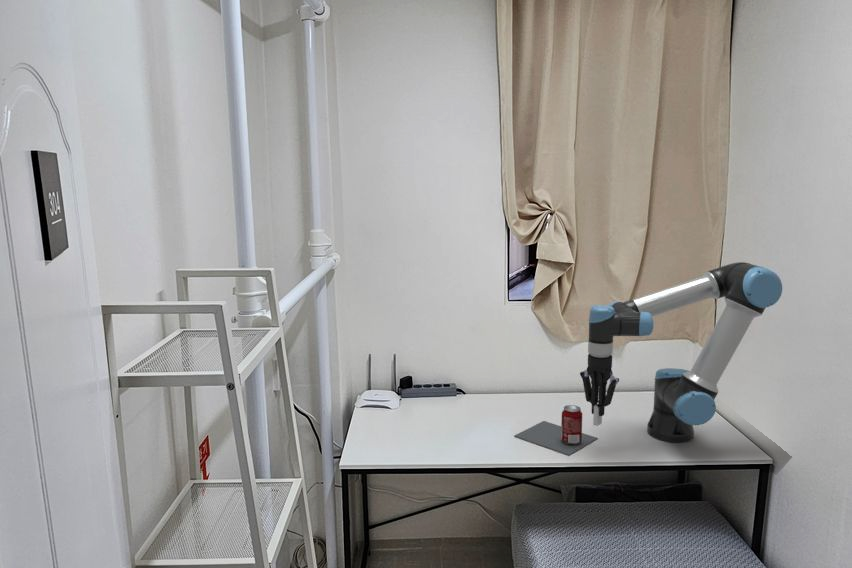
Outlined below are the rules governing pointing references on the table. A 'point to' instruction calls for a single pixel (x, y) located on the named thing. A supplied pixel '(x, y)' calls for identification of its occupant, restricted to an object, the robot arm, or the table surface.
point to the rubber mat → (552, 438)
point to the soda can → (571, 425)
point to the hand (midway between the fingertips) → (597, 424)
